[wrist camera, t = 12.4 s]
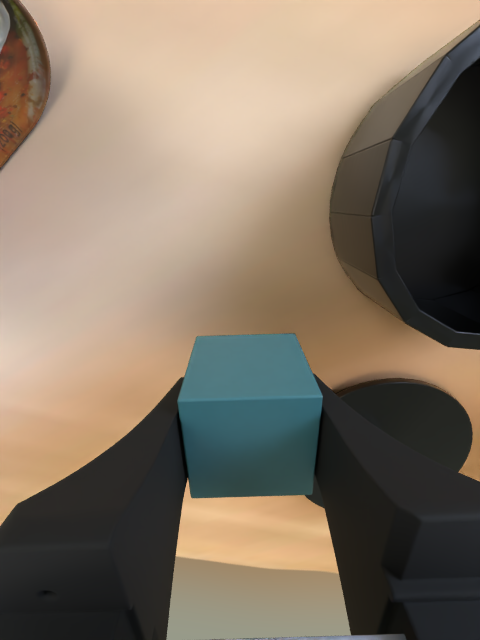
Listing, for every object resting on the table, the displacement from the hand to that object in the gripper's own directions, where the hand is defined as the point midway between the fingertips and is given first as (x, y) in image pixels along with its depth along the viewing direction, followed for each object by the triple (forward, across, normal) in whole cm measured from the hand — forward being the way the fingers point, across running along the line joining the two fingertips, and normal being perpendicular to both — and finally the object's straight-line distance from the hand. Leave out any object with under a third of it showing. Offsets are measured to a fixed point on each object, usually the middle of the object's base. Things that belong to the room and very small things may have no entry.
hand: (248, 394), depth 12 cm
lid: (+6, -10, +10) cm, 16 cm away
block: (+1, 0, 0) cm, 1 cm away
